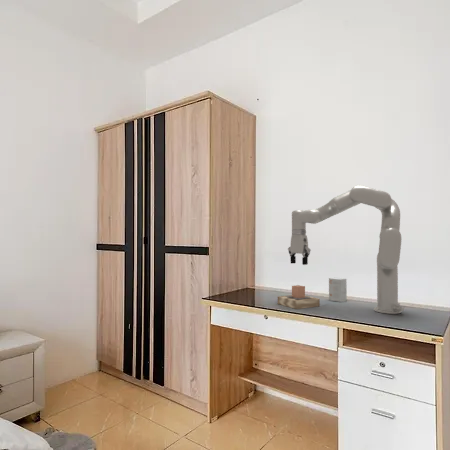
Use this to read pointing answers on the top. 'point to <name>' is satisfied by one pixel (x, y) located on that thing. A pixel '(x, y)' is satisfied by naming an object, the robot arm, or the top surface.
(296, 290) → the terracotta block
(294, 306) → the square wooden tray
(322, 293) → the top surface
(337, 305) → the top surface
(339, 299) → the small box
